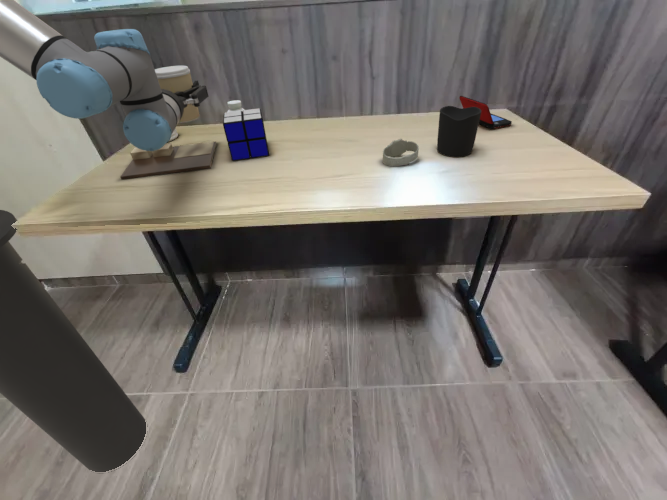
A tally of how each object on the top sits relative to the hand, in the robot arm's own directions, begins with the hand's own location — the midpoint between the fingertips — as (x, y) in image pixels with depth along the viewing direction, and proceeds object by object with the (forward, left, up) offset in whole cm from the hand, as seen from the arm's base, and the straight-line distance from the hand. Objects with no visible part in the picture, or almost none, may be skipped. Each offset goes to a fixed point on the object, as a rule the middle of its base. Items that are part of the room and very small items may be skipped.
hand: (180, 87), depth 94 cm
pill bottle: (+12, +7, -16) cm, 22 cm away
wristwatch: (+52, -28, -16) cm, 62 cm away
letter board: (-6, -8, -16) cm, 19 cm away
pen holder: (+67, -26, -16) cm, 74 cm away
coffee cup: (0, -5, -7) cm, 9 cm away
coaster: (-13, +12, -16) cm, 24 cm away
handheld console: (+84, -9, -16) cm, 86 cm away
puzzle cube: (+15, -9, -16) cm, 24 cm away
